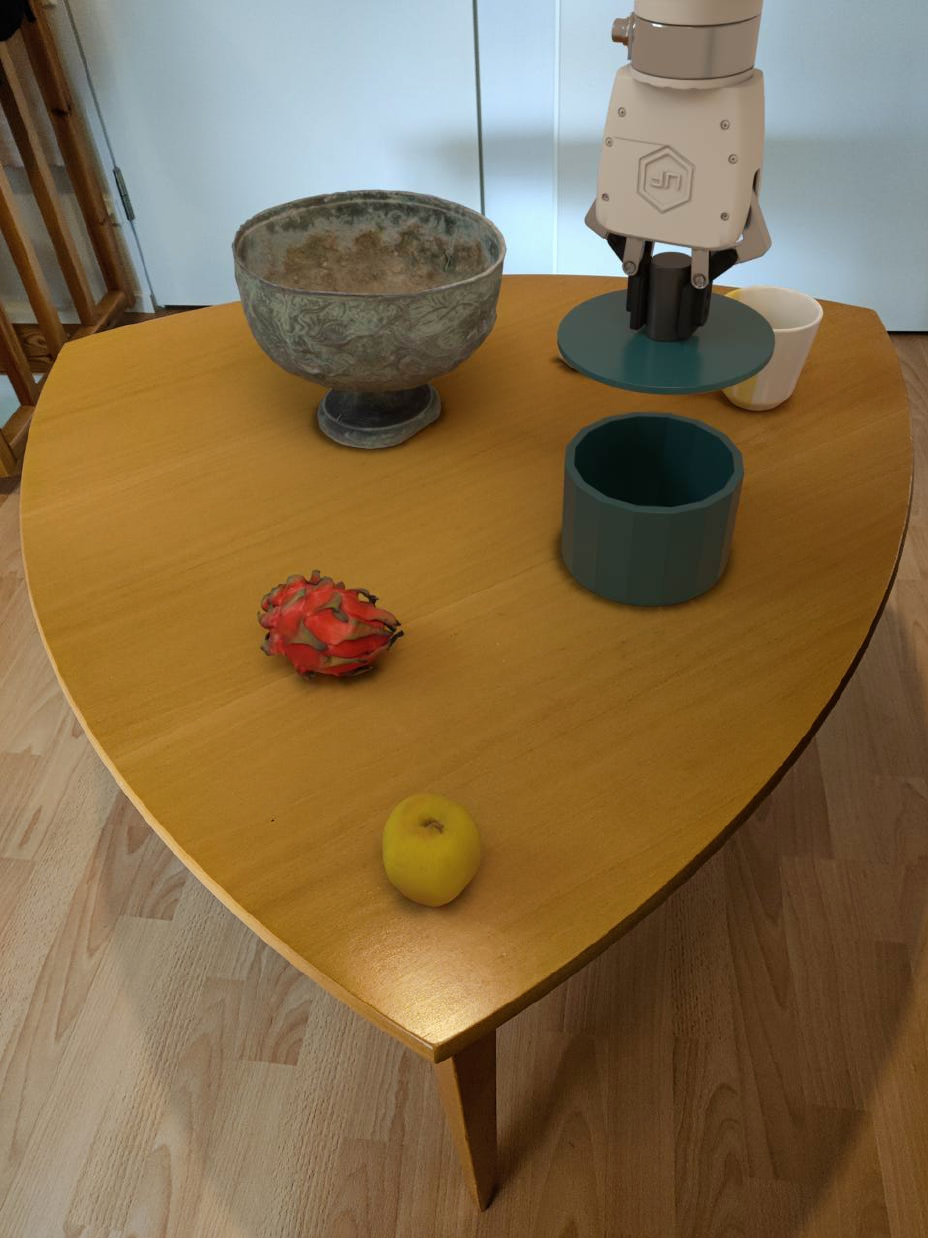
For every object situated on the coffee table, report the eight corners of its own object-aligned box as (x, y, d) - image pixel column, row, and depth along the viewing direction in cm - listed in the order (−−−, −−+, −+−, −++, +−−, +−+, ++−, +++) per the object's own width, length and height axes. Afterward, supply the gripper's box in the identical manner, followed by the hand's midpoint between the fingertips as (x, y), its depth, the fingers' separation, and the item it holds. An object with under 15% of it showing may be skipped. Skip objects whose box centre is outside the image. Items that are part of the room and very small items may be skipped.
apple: (473, 934, 63) (469, 864, 58) (376, 918, 64) (362, 847, 59) (491, 849, 68) (489, 776, 62) (400, 835, 69) (390, 762, 63)
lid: (800, 323, 76) (817, 236, 71) (730, 423, 66) (745, 330, 62) (609, 286, 82) (614, 203, 78) (520, 372, 72) (519, 284, 68)
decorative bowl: (214, 399, 111) (178, 220, 97) (403, 330, 122) (396, 161, 108) (342, 519, 96) (322, 328, 82) (544, 427, 107) (557, 246, 93)
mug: (798, 374, 111) (817, 284, 103) (808, 425, 103) (829, 331, 96) (673, 370, 112) (683, 281, 105) (674, 419, 105) (685, 327, 98)
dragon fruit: (261, 655, 84) (399, 686, 83) (228, 674, 76) (381, 709, 75) (279, 557, 83) (419, 587, 82) (247, 565, 74) (403, 599, 74)
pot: (748, 529, 91) (766, 436, 84) (691, 627, 82) (707, 532, 75) (602, 487, 97) (608, 396, 90) (534, 574, 88) (535, 481, 81)
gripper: (545, 49, 62) (542, 326, 74) (810, 75, 55) (758, 374, 68) (596, 21, 66) (585, 286, 79) (846, 42, 60) (791, 327, 72)
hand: (665, 324), depth 73 cm, fingers closed on lid, 3 cm apart
